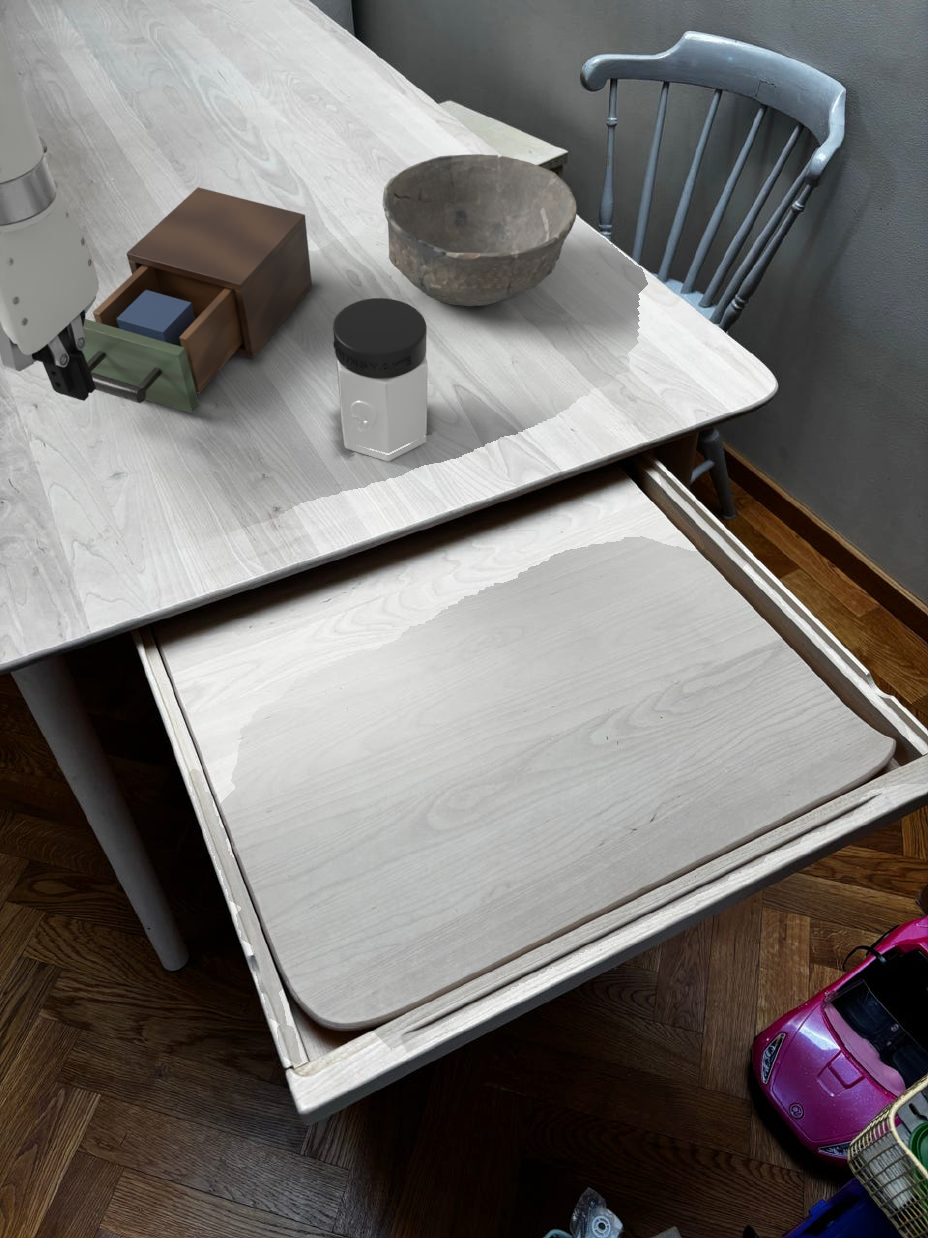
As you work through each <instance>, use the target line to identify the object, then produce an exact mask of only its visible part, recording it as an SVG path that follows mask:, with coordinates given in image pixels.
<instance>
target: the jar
mask: <svg viewBox="0 0 928 1238" xmlns="http://www.w3.org/2000/svg"><path fill="white" fill-rule="evenodd" d="M427 329H428V328H427V323H426V319H425V318H424V316H423V315H422V313H421V312H420V311H419V310H418V309H417V308H416V307H414V306H412V305H410V304H408V303H406V302H403V301H401V300H397V299H394V298H386V297H374V298H373V297H372V298H365V299H361V300H358V301H355V302H352V303H351V304H349V305H347V306H345V307H344V308H342V309H341V310H340V311H339V312H338V314H337V315H336V316H335V318H334V320H333V324H332V336H333V343H332V344H333V345H332V346H333V349H334V355H335V361H336V362H335V363H336V374H337V386H338V397H339V410H340V411H339V412H340V420H341V430H342V436H343V445H344V449H346V450H349V451H353V452H355V453H359V454H362V455H366V456H369V457H372V458H375V459H378V460H382V461H386V462H391V461H393V460H395V459H396V458H398V457H400V456H402V455H404V454H406V453H408V452H410V451H412V450H413V449H416V448H417V447H421V445H423V444H425V443H426V442H427V435H428V434H427V431H428V427H427V426H428V373H429V371H428V370H429V369H428V367H429V365H428V359H427V335H428V333H427V332H428V331H427ZM426 434H427V435H426ZM425 435H426V436H425ZM424 436H425V437H424ZM421 437H423V438H421ZM419 438H421V439H419ZM417 439H419V440H417ZM415 440H417V441H415ZM413 441H415V442H413ZM411 442H413V443H411ZM350 443H351V444H350ZM408 443H411V444H410V445H408V446H406V447H404V448H402V449H400V450H398V451H396V452H394V453H392V454H390V455H385V454H382V453H379V452H376V451H372V450H369V449H370V448H371V449H374V450H377V451H380V452H381V451H382V452H385V453H390V452H392V451H394V450H396V449H398V448H400V447H402V446H404V445H406V444H408ZM353 444H354V445H353ZM356 445H358V446H356ZM359 445H360V446H362V447H359ZM363 447H366V448H369V449H366V448H363Z"/></svg>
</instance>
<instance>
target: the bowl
mask: <svg viewBox="0 0 928 1238" xmlns="http://www.w3.org/2000/svg"><path fill="white" fill-rule="evenodd" d="M381 205H382V208H383V211H384V217H385V219H386V221H387V232H388V233H387V235H388V259H389V261H390V263H391V264H392V265H393V267H395V268H396V269H397V270H399V271H400V272H401V274H402V275H403V276H404V277H405V278H406V279H407V280H408V281H409V282H410V283H411V285H413V286H414V287H416V288H417V289H419V291H421V292H422V293H423V294H425V295H426V296H428V297H430V298H432V299H433V300H436V301H438V302H442V303H445V304H449V305H454V306H455V305H456V306H463V307H475V306H478V307H482V306H488V305H491V304H495V303H500V302H504V301H507V300H511V299H513V298H516V297H518V296H520V295H522V294H524V293H525V292H528V291H530V290H532V289H533V288H535V287H536V286H538V285H539V284H540V283H541V282H543V281H544V280H545V279H546V278H547V277H548V276H550V274H552V273H553V271H554V269H555V268H556V264H557V262H558V260H559V259H560V257H561V254H562V253H561V252H562V247H563V246H564V243H565V240H566V239H567V237H568V236H569V234H570V233H571V231H572V229H573V228H574V227H573V226H574V225H575V222H576V219H577V202H576V197H575V196H574V194H573V190H572V188H571V187H570V186H569V185H568V184H567V183H566V182H565V181H564V180H563V179H562V178H560V177H559V175H558V174H557V173H555V172H554V171H552V170H550V169H548V168H545V167H543V166H540V165H539V164H536V163H532V162H530V161H525V160H521V159H518V158H512V157H508V156H504V155H501V156H498V155H497V154H481V153H479V154H478V153H475V154H472V153H471V154H448V155H440V156H439V155H438V156H437V157H432V158H430V159H427V160H424V161H421V162H418V163H415V164H413V165H410V166H408V167H407V168H405V169H404V170H402V171H400V172H399V173H398V174H396V175H394V176H393V177H392V178H390V179H389V180H388V181H387V183H386V184H385V186H384V187H383V194H382V204H381Z"/></svg>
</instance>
